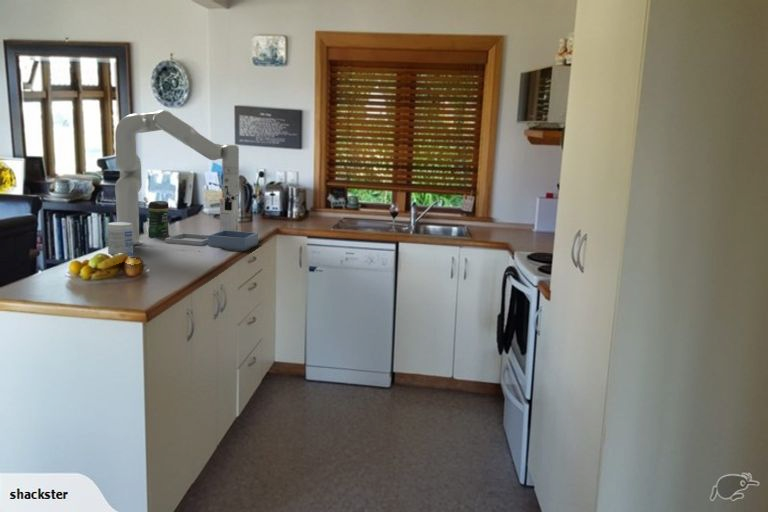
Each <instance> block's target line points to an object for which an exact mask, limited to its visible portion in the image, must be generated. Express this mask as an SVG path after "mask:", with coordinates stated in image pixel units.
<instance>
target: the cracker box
mask: <svg viewBox="0 0 768 512" xmlns="http://www.w3.org/2000/svg"><path fill="white" fill-rule="evenodd" d="M236 199H237V212H235V213H226V212H223V200H224V197H221V198H219V231H222V230H228V231H239V196H236Z"/></svg>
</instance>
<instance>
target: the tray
mask: <svg viewBox="0 0 768 512" xmlns="http://www.w3.org/2000/svg"><path fill="white" fill-rule="evenodd" d="M208 235H209V234H199V233H187V232H186V233H185V232H181V233H177V234H175V235H171V236H167V237H166V238H165V237H164V242H165V243H166V244H174V245H176V244H177V245H187V246H189V245H190V246H201V247H202V246H205V245H207V244H208Z"/></svg>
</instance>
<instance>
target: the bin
mask: <svg viewBox="0 0 768 512" xmlns="http://www.w3.org/2000/svg"><path fill="white" fill-rule="evenodd" d="M207 235H208V243H207V244H208V247H215V248H221V250H226V251H227V250H229V251H239V252H246V251H248V250H251V249H253V248H255V247H257V246H258V245H259V233H258V232H253V231H252V232H250V231H239V230H238V231H228V230H222V231H220V230H219V231H217V232H214V233H212V234H207Z"/></svg>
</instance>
